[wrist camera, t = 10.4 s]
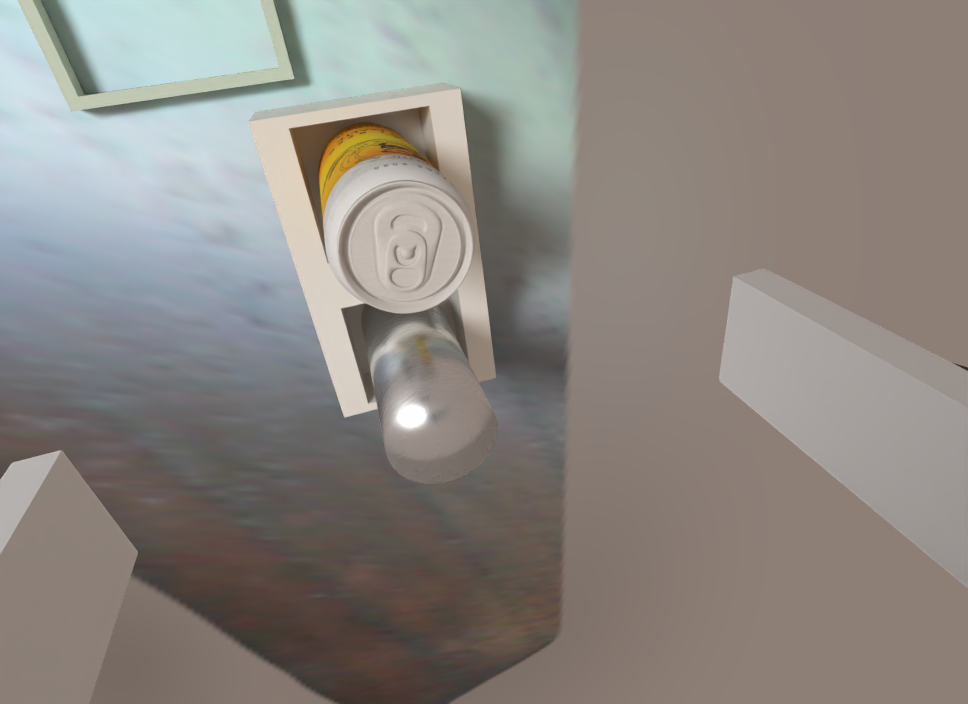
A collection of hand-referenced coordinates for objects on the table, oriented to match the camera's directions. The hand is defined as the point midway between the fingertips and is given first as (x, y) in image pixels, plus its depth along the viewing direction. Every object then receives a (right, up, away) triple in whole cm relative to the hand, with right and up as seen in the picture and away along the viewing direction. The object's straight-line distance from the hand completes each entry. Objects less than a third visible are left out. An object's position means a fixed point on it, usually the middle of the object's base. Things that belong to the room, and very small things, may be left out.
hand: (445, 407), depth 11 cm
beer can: (-6, +12, +22) cm, 26 cm away
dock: (-6, +8, +25) cm, 27 cm away
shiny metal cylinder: (-5, +3, +28) cm, 28 cm away
